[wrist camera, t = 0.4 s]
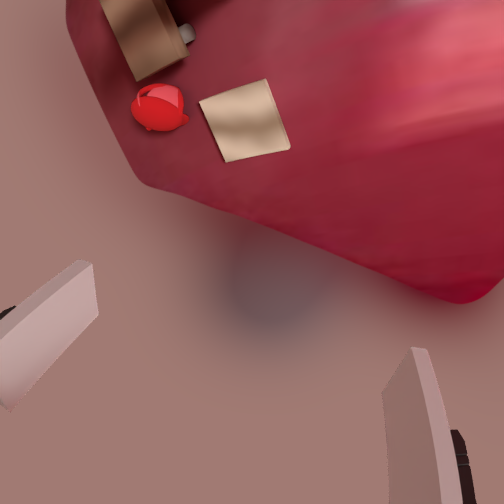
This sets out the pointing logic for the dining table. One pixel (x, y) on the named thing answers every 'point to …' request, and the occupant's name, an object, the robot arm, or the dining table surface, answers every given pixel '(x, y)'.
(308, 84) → the dining table surface
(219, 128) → the coaster
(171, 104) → the red rounded piece
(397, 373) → the robot arm
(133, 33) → the brown toy skateboard
